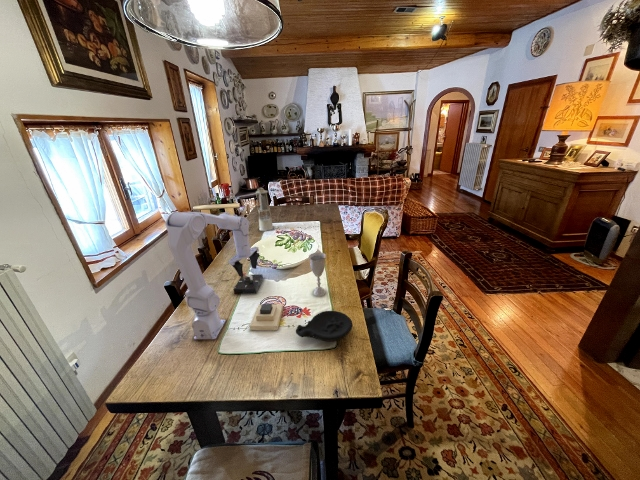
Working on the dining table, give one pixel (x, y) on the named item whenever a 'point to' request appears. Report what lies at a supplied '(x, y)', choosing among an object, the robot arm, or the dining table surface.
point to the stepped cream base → (267, 318)
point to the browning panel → (248, 285)
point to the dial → (247, 278)
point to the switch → (266, 308)
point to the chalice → (318, 270)
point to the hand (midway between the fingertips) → (247, 272)
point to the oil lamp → (326, 326)
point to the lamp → (264, 221)
